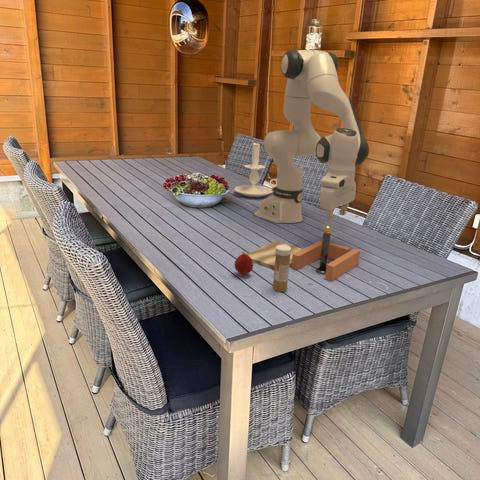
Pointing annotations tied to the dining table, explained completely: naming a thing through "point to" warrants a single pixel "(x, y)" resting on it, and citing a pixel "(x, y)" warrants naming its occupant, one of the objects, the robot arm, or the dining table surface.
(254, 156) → the candlestick
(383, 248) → the dining table surface
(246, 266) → the onion
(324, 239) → the post stand
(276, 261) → the sprinkles bottle
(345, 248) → the c link
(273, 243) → the tray
